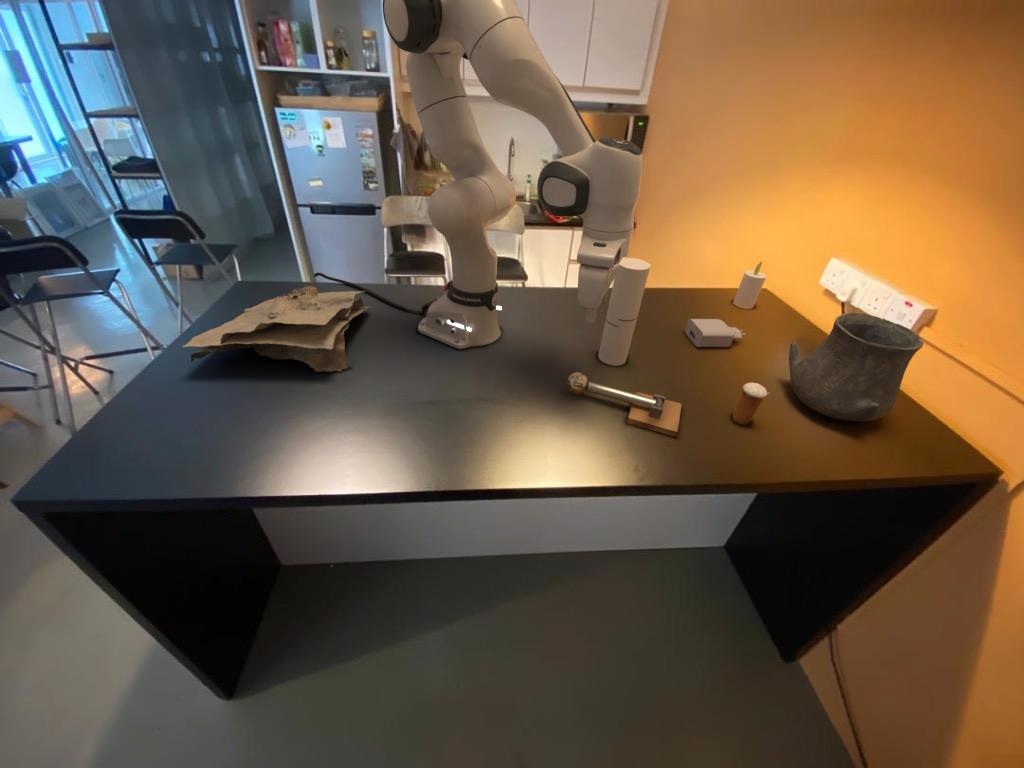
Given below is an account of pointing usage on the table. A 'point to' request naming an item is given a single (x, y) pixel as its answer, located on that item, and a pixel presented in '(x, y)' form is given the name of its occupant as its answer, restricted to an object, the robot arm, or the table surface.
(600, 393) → the ball topped rod
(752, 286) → the candle
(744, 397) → the milkshake
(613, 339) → the cylindrical container
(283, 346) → the crumpled cardboard stack
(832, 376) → the vessel
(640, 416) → the holder base
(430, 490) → the table surface
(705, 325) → the charger
